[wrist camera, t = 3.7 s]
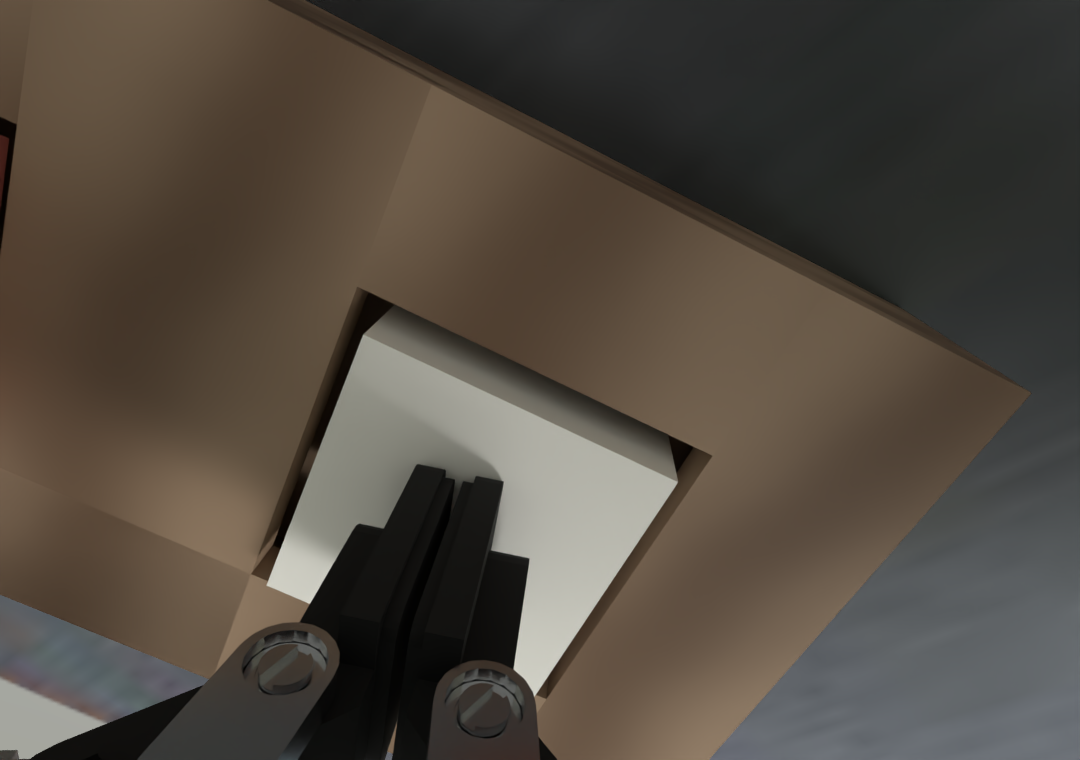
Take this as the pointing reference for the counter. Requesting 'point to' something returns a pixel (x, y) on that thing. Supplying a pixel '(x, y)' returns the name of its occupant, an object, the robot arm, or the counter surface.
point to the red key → (3, 161)
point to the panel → (447, 300)
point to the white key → (483, 472)
